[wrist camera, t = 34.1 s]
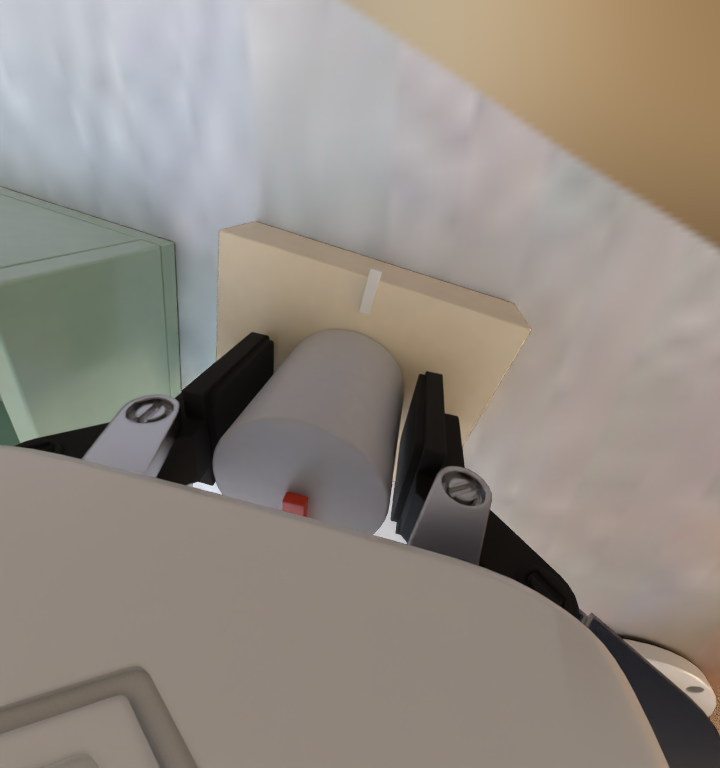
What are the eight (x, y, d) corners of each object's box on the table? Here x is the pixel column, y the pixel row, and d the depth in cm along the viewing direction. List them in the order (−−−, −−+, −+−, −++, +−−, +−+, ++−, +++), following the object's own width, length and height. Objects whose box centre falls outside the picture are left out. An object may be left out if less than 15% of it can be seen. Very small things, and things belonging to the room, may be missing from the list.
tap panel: (519, 295, 12) (539, 322, 10) (431, 459, 17) (431, 503, 14) (255, 212, 12) (215, 218, 10) (241, 397, 17) (211, 430, 15)
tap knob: (287, 317, 11) (192, 406, 7) (416, 343, 11) (406, 455, 6) (285, 419, 14) (213, 535, 9) (391, 443, 13) (371, 576, 9)
